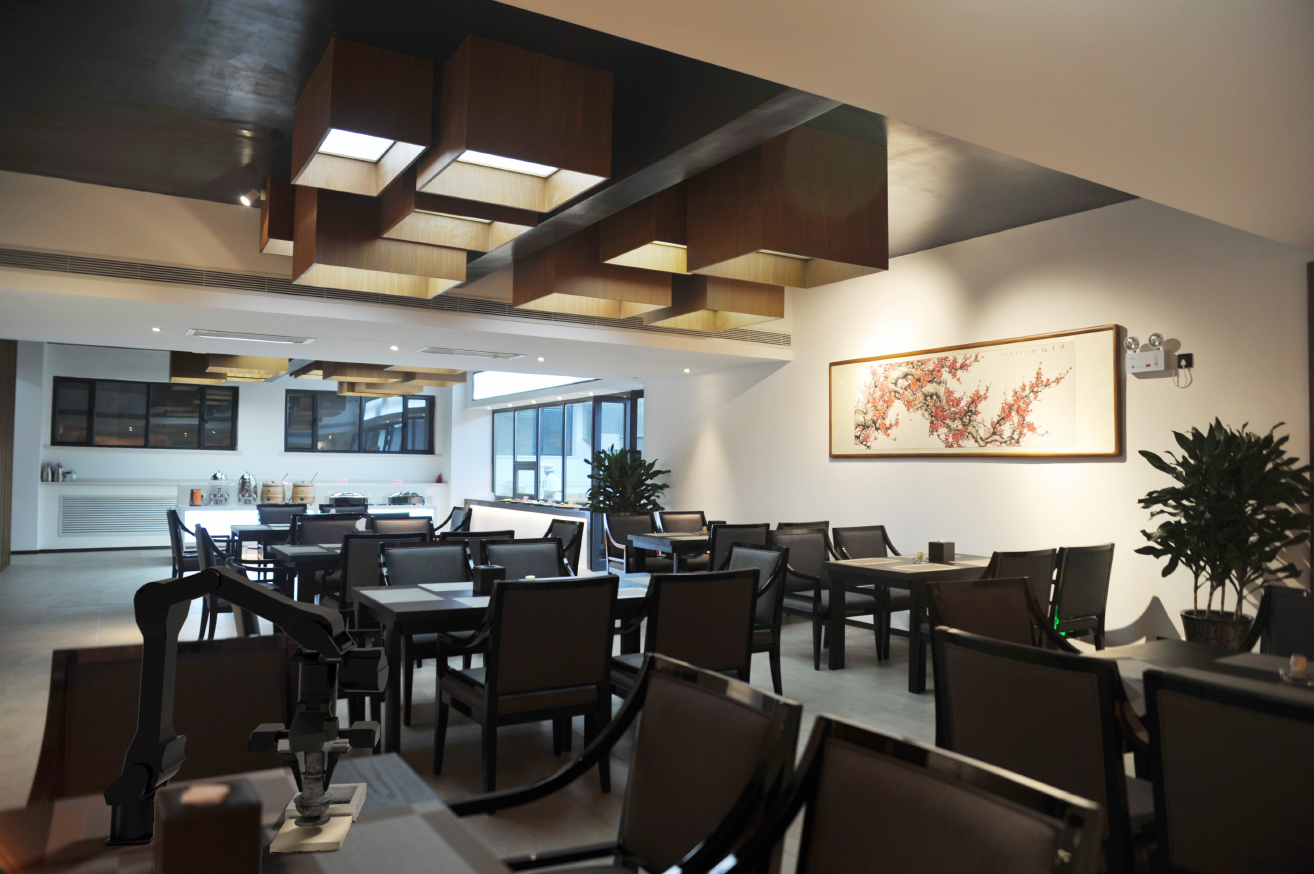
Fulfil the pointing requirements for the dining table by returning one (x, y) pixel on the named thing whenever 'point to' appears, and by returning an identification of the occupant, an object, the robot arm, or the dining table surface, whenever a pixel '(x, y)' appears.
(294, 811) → the grey square frame
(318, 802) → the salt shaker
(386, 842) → the dining table surface
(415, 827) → the dining table surface
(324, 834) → the wooden square board
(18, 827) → the dining table surface
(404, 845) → the dining table surface
